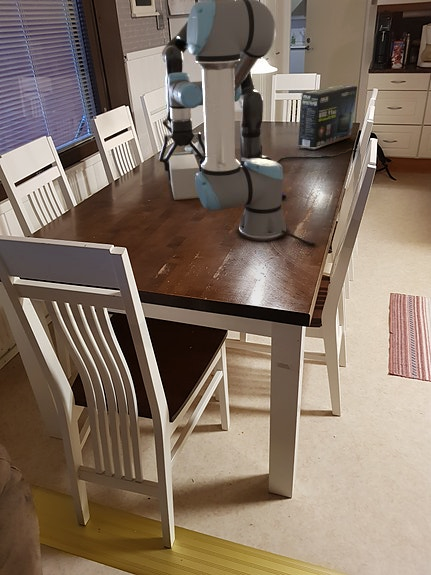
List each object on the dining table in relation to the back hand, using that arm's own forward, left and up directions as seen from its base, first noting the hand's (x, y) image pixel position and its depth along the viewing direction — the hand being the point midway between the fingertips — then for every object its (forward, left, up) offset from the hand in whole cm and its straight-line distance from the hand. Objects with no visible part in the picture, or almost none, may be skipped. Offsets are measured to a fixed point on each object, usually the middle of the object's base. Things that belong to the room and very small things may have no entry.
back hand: (178, 142), depth 198 cm
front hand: (+17, +22, -7) cm, 28 cm away
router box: (-85, +21, -14) cm, 89 cm away
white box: (+13, +16, -14) cm, 25 cm away
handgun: (-7, +44, -14) cm, 47 cm away
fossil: (-32, -19, -14) cm, 40 cm away
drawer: (+5, +7, -13) cm, 16 cm away
